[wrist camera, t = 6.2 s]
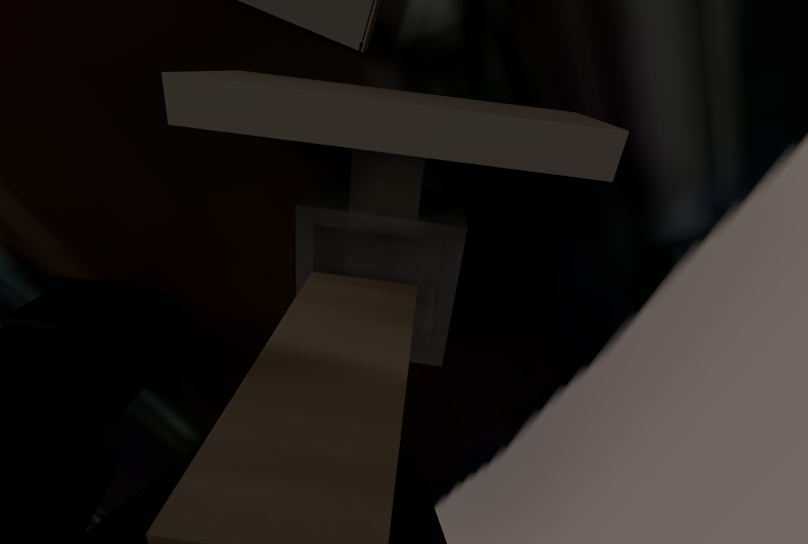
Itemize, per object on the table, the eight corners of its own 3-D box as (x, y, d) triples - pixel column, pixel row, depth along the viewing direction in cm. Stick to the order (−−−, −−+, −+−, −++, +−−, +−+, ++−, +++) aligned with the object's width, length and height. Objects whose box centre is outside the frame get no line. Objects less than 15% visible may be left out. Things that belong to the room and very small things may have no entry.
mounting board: (566, 150, 18) (612, 181, 13) (242, 108, 18) (168, 124, 13) (576, 112, 17) (629, 131, 12) (240, 70, 18) (161, 72, 13)
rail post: (405, 369, 14) (367, 683, 7) (311, 356, 14) (176, 653, 7) (417, 286, 13) (384, 571, 6) (312, 271, 13) (145, 534, 6)
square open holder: (441, 313, 20) (441, 366, 17) (322, 296, 20) (296, 345, 17) (472, 143, 17) (479, 164, 13) (327, 124, 17) (295, 140, 13)
